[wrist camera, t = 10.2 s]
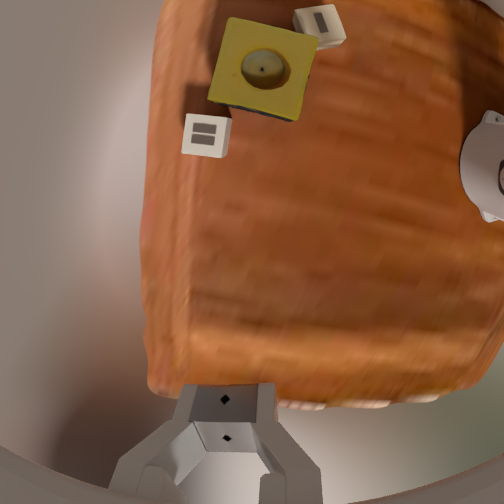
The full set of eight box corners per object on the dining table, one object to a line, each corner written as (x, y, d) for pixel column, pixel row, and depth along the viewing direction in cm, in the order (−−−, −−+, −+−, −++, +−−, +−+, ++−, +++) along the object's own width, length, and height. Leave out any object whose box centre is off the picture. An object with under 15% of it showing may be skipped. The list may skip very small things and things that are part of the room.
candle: (236, 38, 34) (226, 13, 25) (310, 55, 34) (322, 35, 25) (217, 105, 38) (201, 99, 29) (291, 123, 38) (298, 121, 29)
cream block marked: (232, 118, 38) (227, 117, 34) (227, 154, 40) (221, 158, 36) (196, 114, 38) (186, 113, 34) (191, 150, 40) (180, 153, 36)
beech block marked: (326, 16, 32) (334, 3, 27) (338, 46, 33) (346, 37, 29) (292, 21, 32) (294, 9, 28) (303, 52, 34) (307, 43, 29)
